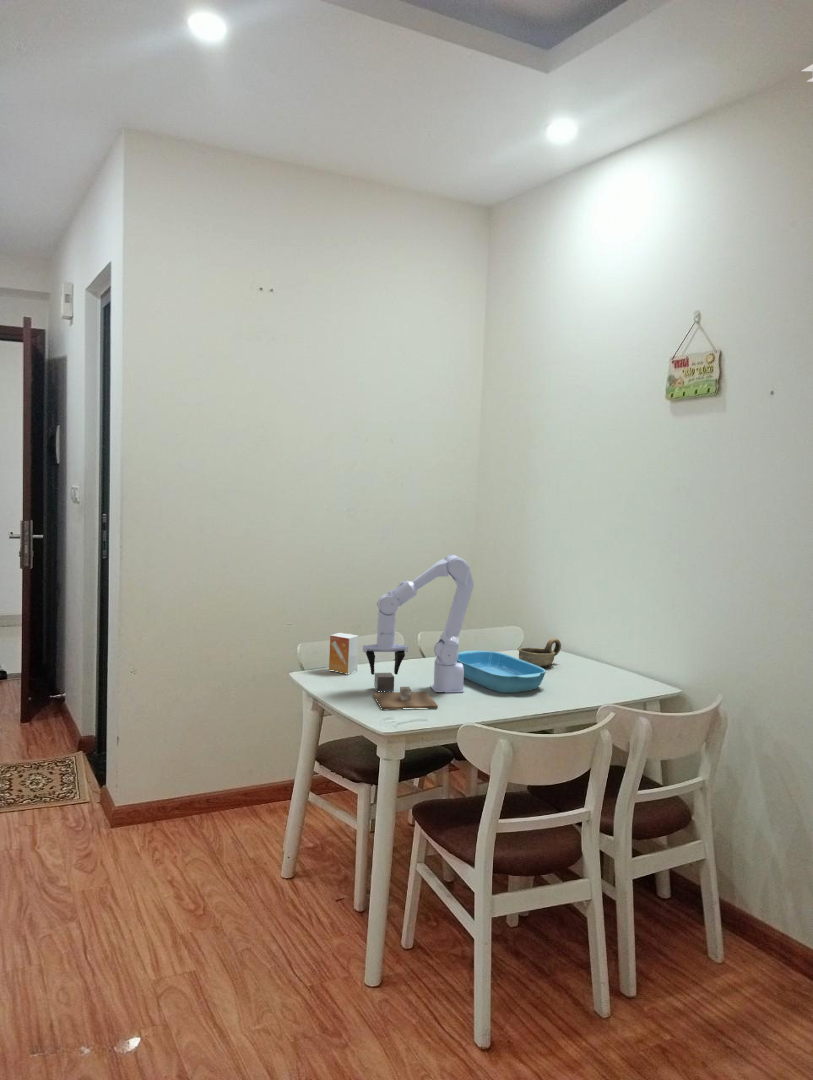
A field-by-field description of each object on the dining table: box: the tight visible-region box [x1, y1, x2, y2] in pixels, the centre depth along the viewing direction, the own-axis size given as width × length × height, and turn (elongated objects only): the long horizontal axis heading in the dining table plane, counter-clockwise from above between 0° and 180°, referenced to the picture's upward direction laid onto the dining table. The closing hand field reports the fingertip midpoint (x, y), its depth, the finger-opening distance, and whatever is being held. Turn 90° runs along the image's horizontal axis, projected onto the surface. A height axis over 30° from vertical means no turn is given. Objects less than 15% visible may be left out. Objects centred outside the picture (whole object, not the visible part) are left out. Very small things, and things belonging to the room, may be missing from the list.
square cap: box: [373, 672, 395, 693], centre depth 261 cm, size 5×5×5 cm
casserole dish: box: [457, 650, 547, 694], centre depth 278 cm, size 37×22×7 cm, turn 31°
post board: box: [373, 686, 439, 710], centre depth 249 cm, size 17×15×4 cm
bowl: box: [518, 637, 562, 667], centre depth 303 cm, size 14×18×10 cm
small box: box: [328, 632, 360, 674], centre depth 282 cm, size 8×6×13 cm
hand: (384, 673), depth 261 cm, fingers open, 7 cm apart
